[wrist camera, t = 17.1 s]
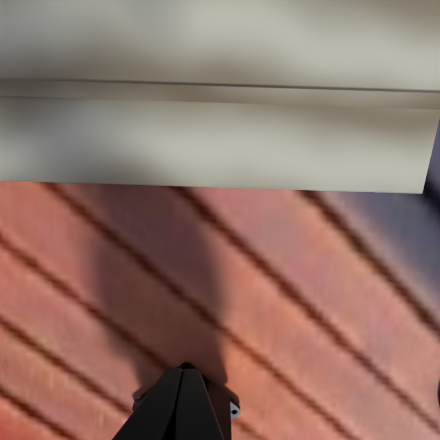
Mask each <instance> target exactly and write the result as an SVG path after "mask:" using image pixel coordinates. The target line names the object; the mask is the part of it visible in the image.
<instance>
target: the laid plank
mask: <svg viewBox="0 0 440 440" xmlns="http://www.w3.org/2000/svg"><path fill="white" fill-rule="evenodd" d="M439 119H440V0H0V181H32V182H64V183H97V184H130V185H162V186H195V187H227V188H260V189H293V190H325V191H358V192H391V193H422V192H423V188H424V183H425V179H426V175H427V170H428V166H429V162H430V157H431V153H432V149H433V145H434V140H435V136H436V132H437V127H438V123H439Z"/></svg>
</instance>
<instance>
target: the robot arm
mask: <svg viewBox="0 0 440 440" xmlns="http://www.w3.org/2000/svg"><path fill="white" fill-rule="evenodd" d="M132 410H133V413H132V414H131V416H130V417H129V418H128V420H127V421H126V422H125V423H124V425H123V426H122V427H121V429H120V430H119V431H118V432H117V434H116V435H115V436H114V438H113V439H112V440H231V420H233V419H234V418H236V417H237V416H238V415H239V414H240V406H239V404H238V403H236V402H235V401H234V400H233V399H232V398H230V396H229V395H228V394H226V393H225V392H224V391H223V390H222V389H220V388H219V387H218V386H217V385H216V384H215V383H213V382H212V381H211V380H210V379H208V378H207V377H206V376H204V375H203V374H202V373H201V372H200V371H199V370H198V369H196V368H195V367H194V366H193V365H191V364H190V363H183V364H182V365H180V366H179V367H178V368H168V369H167V370H166V371H165V372H164V373H163V375H162V376H161V377H160V379H159V380H158V381H157V382H156V384H155V385H154V386H153V388H151V389H150V390H149V391H148V392H146V393H145V394H144V395H143V396H141V397H140V398H139V399H137V400H136V401H135V402H134V404H133V407H132Z"/></svg>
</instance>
